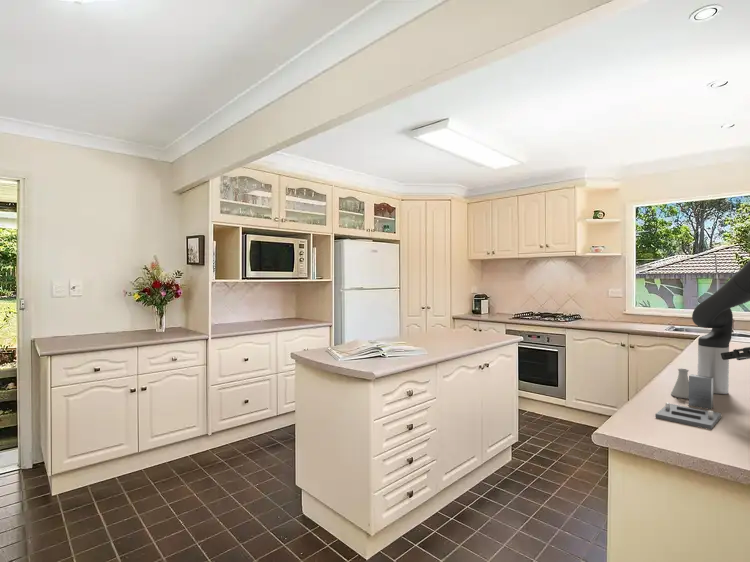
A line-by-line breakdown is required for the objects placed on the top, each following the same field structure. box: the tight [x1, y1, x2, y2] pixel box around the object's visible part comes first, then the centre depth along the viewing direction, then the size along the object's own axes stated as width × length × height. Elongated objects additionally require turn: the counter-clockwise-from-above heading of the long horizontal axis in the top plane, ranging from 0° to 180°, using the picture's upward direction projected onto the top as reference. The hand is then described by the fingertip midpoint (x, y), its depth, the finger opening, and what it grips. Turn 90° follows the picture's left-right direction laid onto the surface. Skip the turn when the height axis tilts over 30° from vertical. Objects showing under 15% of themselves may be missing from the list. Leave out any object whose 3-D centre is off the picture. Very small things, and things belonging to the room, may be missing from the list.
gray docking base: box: [655, 402, 722, 430], centre depth 131 cm, size 14×16×3 cm
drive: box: [688, 374, 714, 410], centre depth 142 cm, size 6×4×10 cm, turn 43°
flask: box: [670, 367, 690, 400], centre depth 154 cm, size 7×7×10 cm
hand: (729, 356), depth 135 cm, fingers open, 8 cm apart
